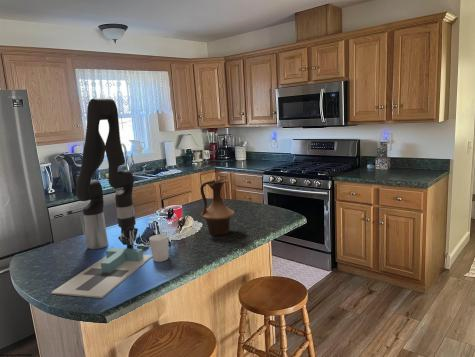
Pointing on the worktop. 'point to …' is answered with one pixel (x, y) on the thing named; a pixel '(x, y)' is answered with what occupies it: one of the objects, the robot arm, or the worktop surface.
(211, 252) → the worktop surface
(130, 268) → the mat
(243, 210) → the worktop surface
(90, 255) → the worktop surface
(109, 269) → the t block
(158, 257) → the white cup
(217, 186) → the pitcher
